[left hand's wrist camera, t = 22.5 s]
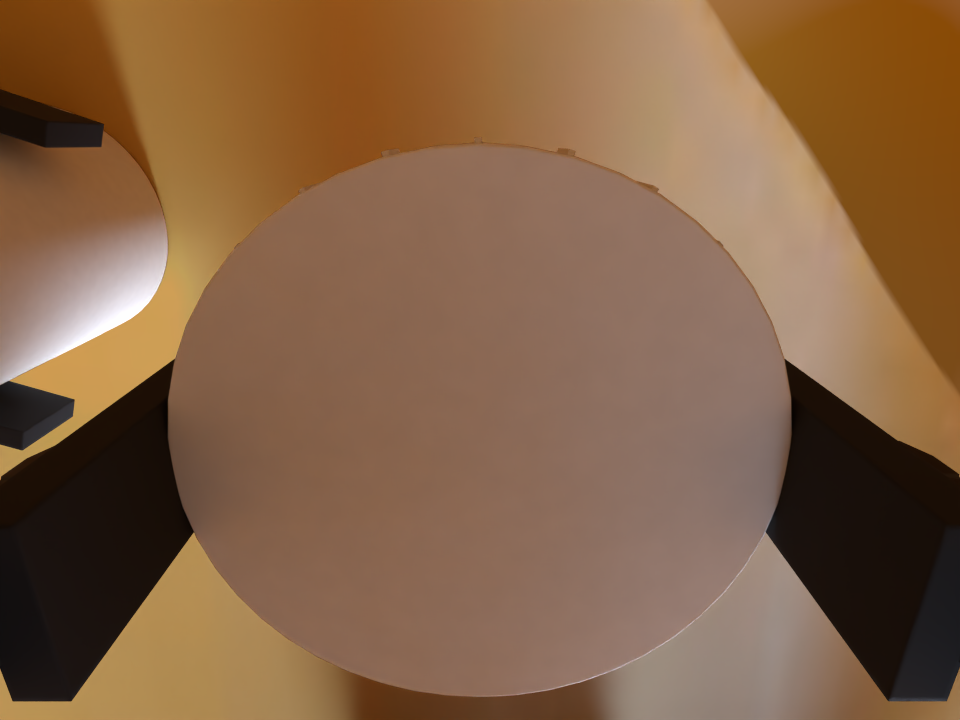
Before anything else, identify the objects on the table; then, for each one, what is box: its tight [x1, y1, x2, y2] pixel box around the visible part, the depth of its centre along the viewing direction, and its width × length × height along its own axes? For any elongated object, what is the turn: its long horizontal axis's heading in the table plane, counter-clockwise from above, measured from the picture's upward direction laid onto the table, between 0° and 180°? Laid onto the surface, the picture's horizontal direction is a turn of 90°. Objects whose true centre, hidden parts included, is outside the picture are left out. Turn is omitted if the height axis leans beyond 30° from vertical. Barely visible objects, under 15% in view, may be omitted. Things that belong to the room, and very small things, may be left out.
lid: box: [168, 137, 792, 697], centre depth 11 cm, size 11×11×2 cm
